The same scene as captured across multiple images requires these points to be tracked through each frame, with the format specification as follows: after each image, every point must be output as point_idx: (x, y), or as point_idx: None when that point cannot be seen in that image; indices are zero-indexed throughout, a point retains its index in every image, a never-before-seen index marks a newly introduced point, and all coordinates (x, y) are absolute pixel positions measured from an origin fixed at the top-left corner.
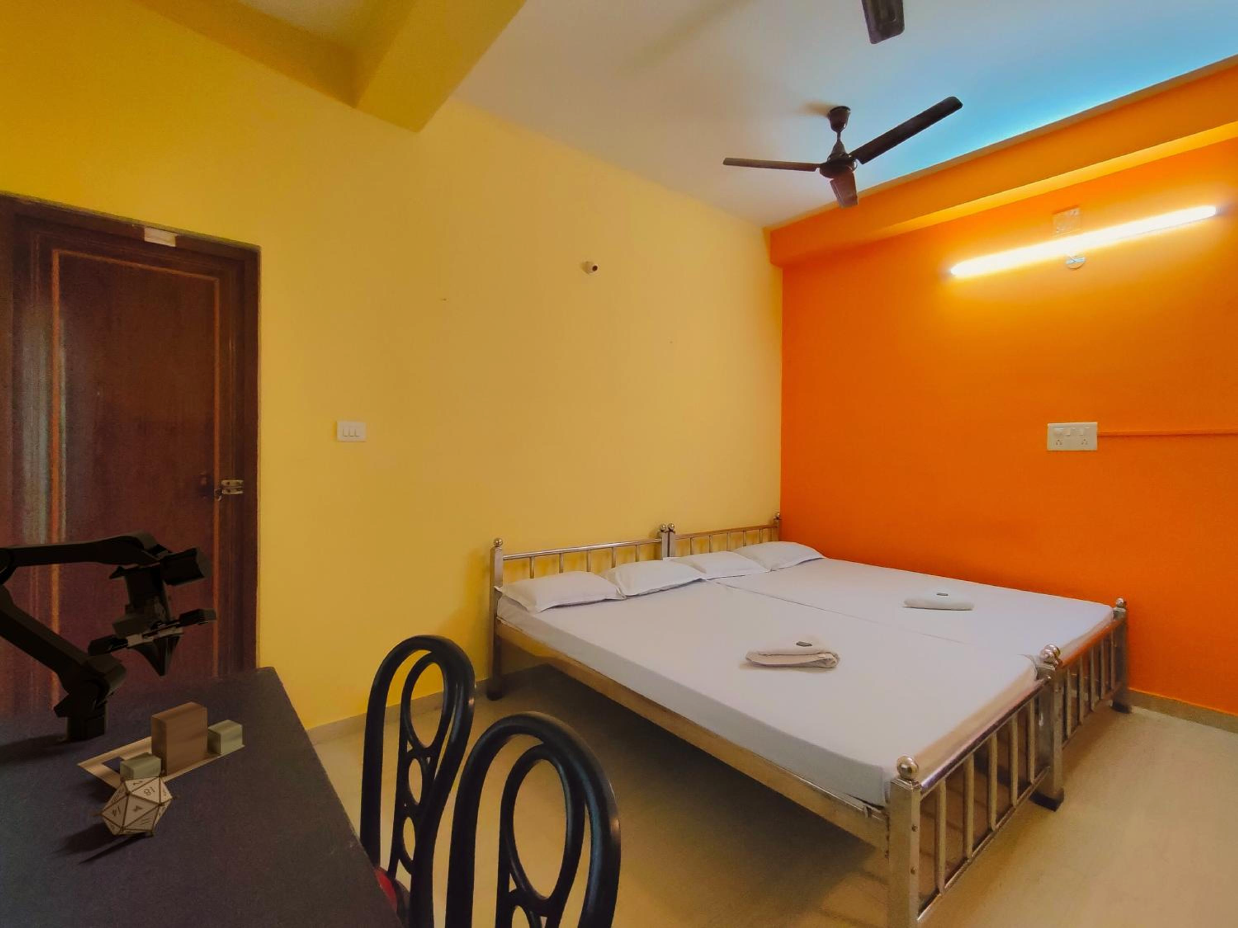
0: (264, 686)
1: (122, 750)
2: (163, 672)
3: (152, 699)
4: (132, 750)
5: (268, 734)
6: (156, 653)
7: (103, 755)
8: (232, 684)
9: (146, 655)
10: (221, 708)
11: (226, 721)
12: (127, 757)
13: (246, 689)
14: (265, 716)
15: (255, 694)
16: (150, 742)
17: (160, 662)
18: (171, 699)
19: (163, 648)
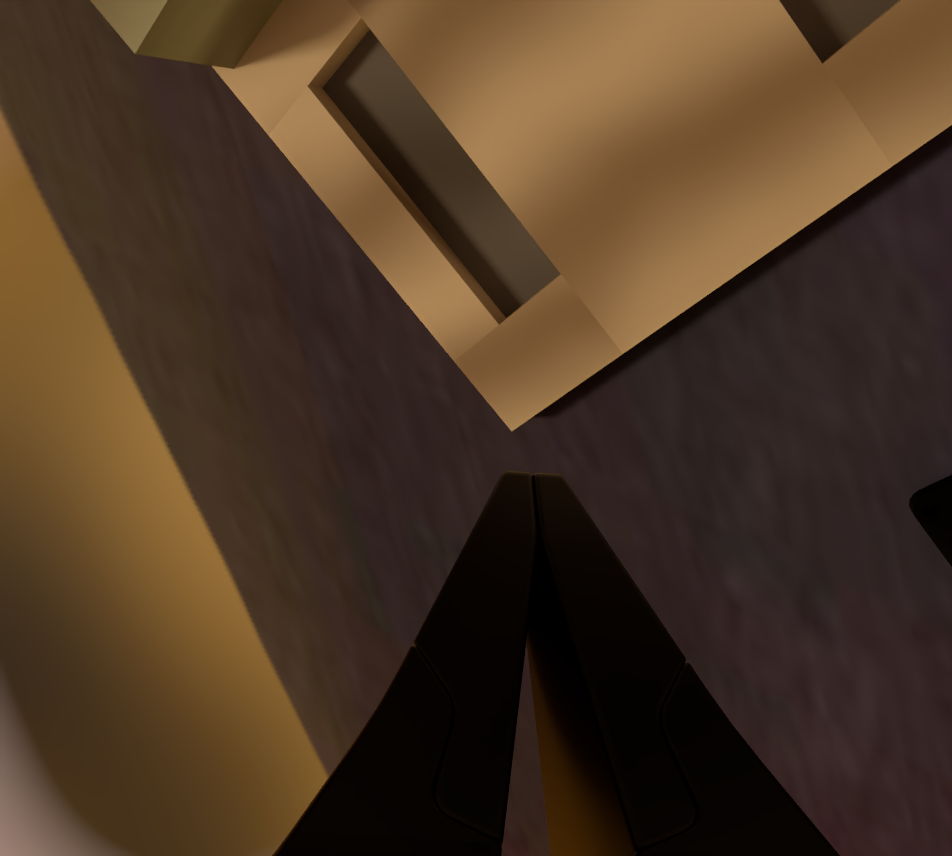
0: (323, 712)
1: (813, 153)
2: (506, 483)
3: None
4: (747, 130)
5: (122, 162)
6: (586, 825)
7: (929, 112)
8: None
9: (734, 785)
10: (435, 574)
11: (131, 16)
12: (757, 18)
13: None
14: (210, 388)
15: (334, 651)
16: (661, 217)
17: (511, 592)
18: None
19: (374, 802)
